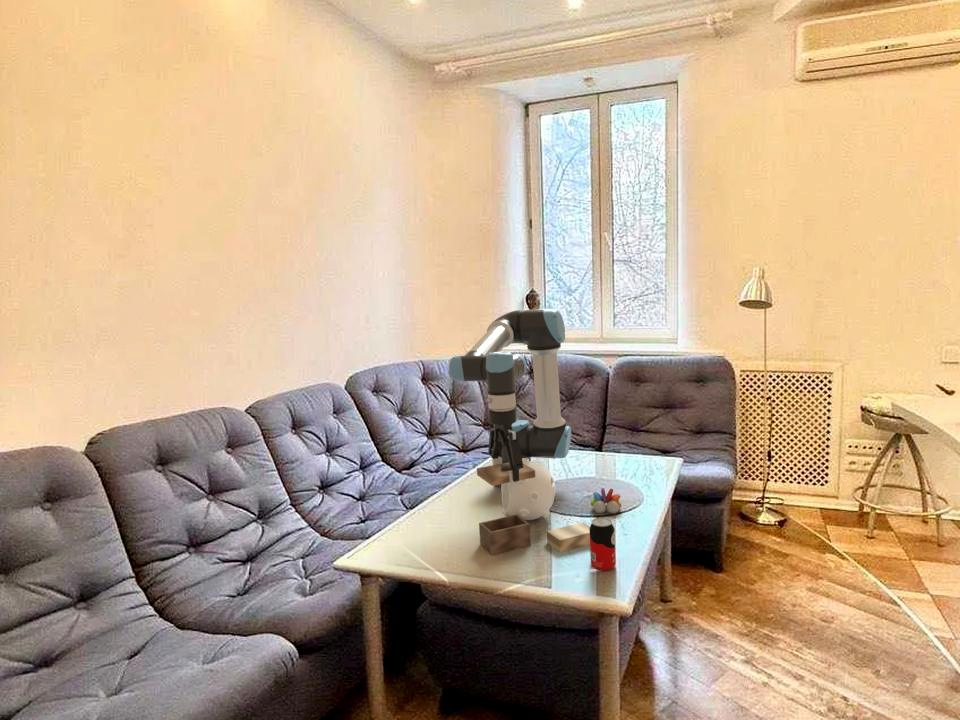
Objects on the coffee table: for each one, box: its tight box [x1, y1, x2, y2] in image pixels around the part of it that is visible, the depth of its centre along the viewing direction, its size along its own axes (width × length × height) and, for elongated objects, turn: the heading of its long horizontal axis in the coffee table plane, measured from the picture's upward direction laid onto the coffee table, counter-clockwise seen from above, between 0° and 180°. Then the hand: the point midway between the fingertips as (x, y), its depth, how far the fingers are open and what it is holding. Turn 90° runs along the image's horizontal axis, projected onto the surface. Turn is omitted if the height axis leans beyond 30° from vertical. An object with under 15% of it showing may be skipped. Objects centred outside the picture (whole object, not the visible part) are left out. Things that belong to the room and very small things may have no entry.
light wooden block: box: [546, 522, 591, 553], centre depth 166 cm, size 12×7×4 cm, turn 113°
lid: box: [476, 462, 535, 487], centre depth 164 cm, size 13×10×3 cm
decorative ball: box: [500, 458, 556, 521], centre depth 184 cm, size 20×17×20 cm
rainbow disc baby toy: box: [590, 487, 622, 514], centre depth 190 cm, size 8×10×7 cm
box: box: [478, 515, 532, 556], centre depth 166 cm, size 12×8×7 cm, turn 113°
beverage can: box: [589, 517, 617, 572], centre depth 152 cm, size 6×6×12 cm
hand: (506, 486), depth 165 cm, fingers closed on lid, 10 cm apart
